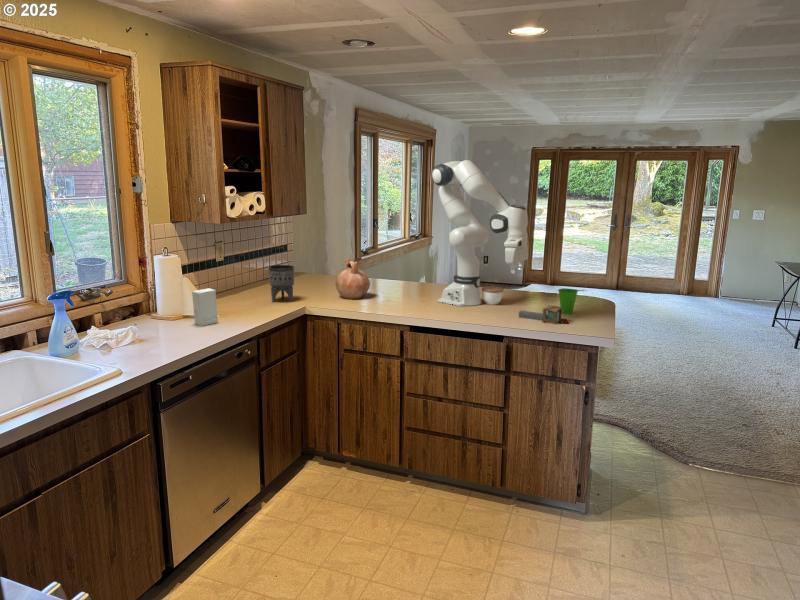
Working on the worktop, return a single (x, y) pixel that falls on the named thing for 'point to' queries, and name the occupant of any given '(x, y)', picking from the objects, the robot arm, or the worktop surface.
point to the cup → (567, 300)
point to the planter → (281, 280)
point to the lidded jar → (492, 295)
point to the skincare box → (205, 306)
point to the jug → (352, 281)
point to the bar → (531, 315)
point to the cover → (554, 309)
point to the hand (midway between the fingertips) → (517, 271)
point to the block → (550, 315)
